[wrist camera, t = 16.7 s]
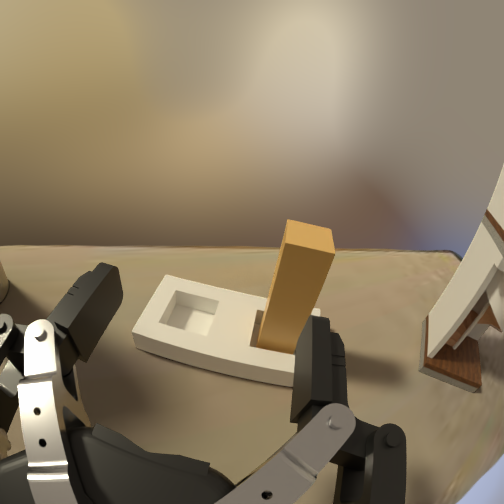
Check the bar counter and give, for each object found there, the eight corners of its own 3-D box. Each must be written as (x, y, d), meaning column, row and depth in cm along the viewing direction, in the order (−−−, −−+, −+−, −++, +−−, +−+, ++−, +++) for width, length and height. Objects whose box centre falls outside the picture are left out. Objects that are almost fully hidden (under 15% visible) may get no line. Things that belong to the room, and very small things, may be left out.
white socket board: (135, 347, 28) (131, 331, 26) (167, 291, 36) (166, 274, 34) (311, 389, 27) (321, 376, 25) (313, 324, 35) (320, 308, 33)
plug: (254, 355, 29) (285, 242, 21) (259, 329, 33) (287, 219, 24) (289, 361, 29) (335, 253, 21) (291, 335, 32) (330, 229, 24)
